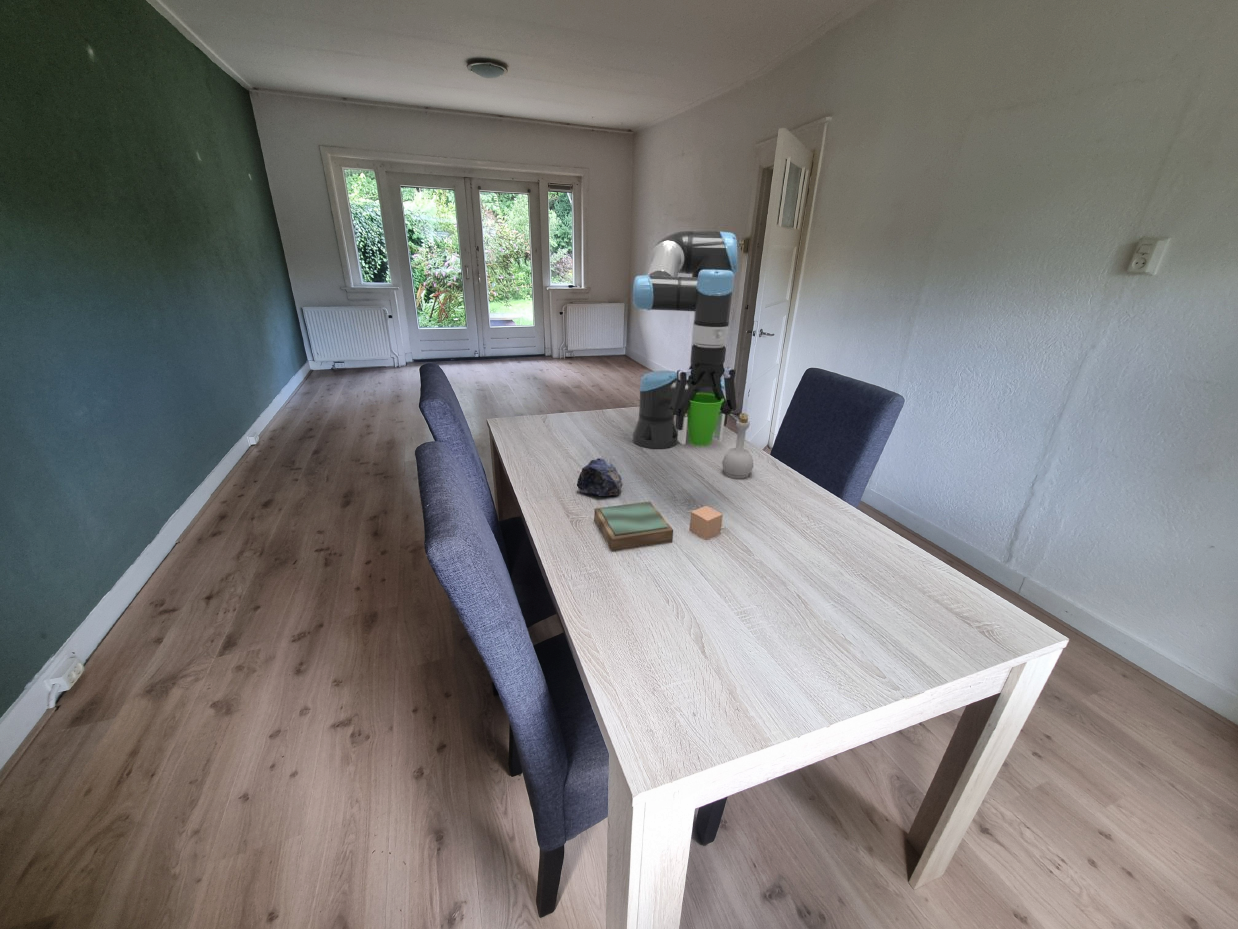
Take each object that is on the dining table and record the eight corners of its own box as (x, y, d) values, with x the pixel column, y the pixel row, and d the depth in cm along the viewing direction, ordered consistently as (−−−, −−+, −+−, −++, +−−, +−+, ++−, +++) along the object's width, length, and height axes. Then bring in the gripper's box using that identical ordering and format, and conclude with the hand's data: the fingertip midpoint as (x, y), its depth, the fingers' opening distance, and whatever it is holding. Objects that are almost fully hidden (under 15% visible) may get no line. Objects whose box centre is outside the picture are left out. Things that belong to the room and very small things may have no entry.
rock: (569, 486, 127) (586, 451, 126) (587, 489, 136) (603, 457, 136) (602, 505, 123) (620, 469, 122) (619, 507, 132) (635, 474, 131)
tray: (594, 519, 117) (594, 507, 115) (649, 512, 121) (650, 499, 120) (611, 551, 105) (612, 537, 103) (672, 541, 109) (673, 528, 107)
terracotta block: (689, 530, 114) (691, 511, 112) (704, 524, 116) (706, 505, 114) (705, 540, 110) (707, 520, 108) (720, 533, 113) (722, 514, 111)
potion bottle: (749, 468, 147) (757, 410, 140) (753, 481, 139) (762, 420, 132) (719, 466, 148) (726, 409, 141) (722, 479, 140) (729, 418, 133)
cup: (719, 451, 113) (724, 404, 109) (679, 447, 114) (683, 401, 110) (719, 437, 121) (724, 394, 117) (682, 434, 123) (685, 391, 118)
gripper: (671, 349, 102) (664, 450, 111) (761, 346, 109) (747, 441, 118) (657, 343, 109) (651, 439, 117) (742, 340, 115) (731, 431, 124)
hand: (699, 440), depth 118 cm, fingers closed on cup, 9 cm apart
